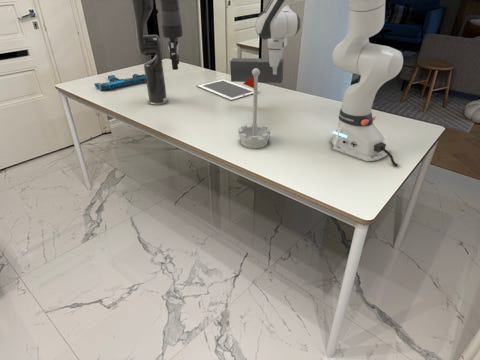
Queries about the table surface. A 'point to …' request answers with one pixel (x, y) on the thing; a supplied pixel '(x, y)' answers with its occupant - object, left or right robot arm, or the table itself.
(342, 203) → the table surface
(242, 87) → the tablet
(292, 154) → the table surface
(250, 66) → the box
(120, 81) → the submachine gun
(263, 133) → the flag stand
